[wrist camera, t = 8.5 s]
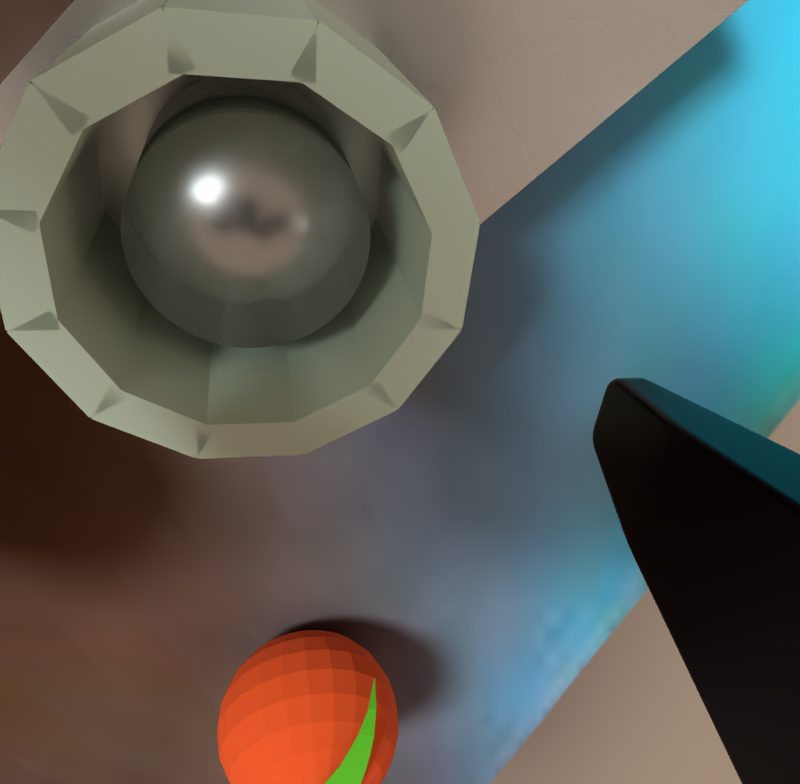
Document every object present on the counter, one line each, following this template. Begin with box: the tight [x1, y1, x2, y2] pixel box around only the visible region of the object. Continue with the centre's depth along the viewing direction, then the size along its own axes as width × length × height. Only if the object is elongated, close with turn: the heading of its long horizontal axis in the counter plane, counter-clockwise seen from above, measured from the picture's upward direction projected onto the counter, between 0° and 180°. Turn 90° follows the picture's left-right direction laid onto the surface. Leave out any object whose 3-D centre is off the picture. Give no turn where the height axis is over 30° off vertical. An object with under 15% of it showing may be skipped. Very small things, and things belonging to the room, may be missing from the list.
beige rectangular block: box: [0, 0, 748, 348], centre depth 15 cm, size 9×16×6 cm, turn 129°
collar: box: [0, 0, 480, 459], centre depth 13 cm, size 8×8×5 cm
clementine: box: [217, 630, 398, 784], centre depth 27 cm, size 8×7×7 cm
